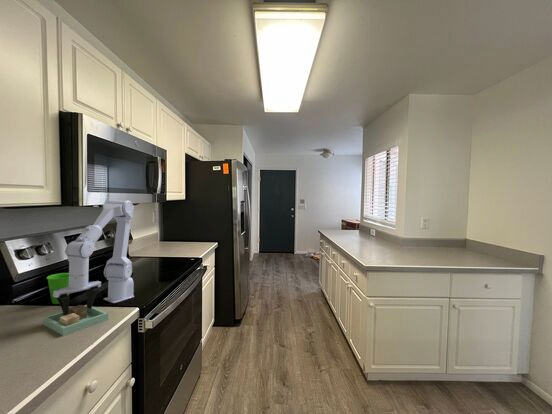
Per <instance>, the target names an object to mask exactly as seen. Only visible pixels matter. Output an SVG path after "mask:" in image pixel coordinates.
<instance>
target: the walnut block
mask: <svg viewBox="0 0 552 414" xmlns="http://www.w3.org/2000/svg"><path fill="white" fill-rule="evenodd" d="M72 313H74V314H77V315H79V320H81V319H84V318H87V307H85V305H82V304H78V305H75V306H71V307H69V314H72Z"/></svg>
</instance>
